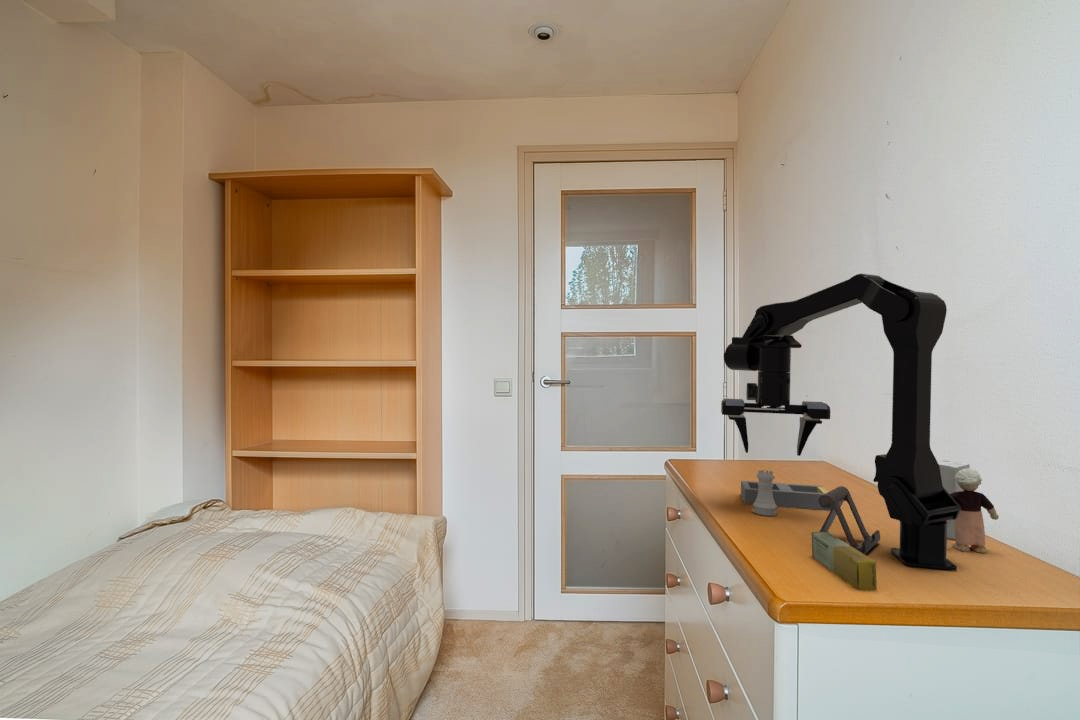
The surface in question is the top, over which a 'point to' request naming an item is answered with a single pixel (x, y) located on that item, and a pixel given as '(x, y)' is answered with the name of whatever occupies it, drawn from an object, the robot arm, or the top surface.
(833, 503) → the portable electronic device stand
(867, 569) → the medication box
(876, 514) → the top surface
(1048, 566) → the top surface
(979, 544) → the grandmother figurine
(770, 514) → the rook chess piece
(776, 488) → the rail
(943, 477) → the skincare box
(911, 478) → the robot arm
